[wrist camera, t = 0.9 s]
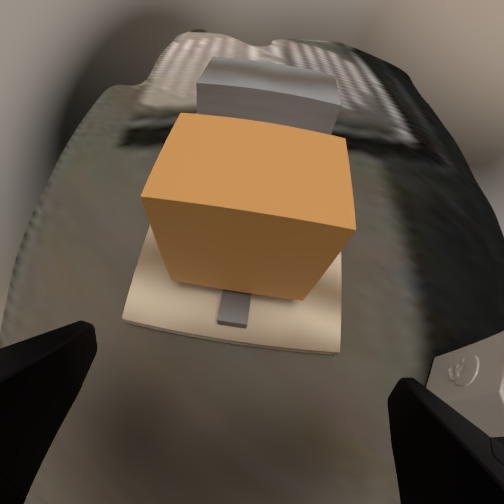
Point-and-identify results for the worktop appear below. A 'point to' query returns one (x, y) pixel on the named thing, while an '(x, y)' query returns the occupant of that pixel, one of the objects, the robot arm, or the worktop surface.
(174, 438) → the worktop surface
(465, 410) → the jar
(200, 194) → the orange-brown rectangular block
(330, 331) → the stand
